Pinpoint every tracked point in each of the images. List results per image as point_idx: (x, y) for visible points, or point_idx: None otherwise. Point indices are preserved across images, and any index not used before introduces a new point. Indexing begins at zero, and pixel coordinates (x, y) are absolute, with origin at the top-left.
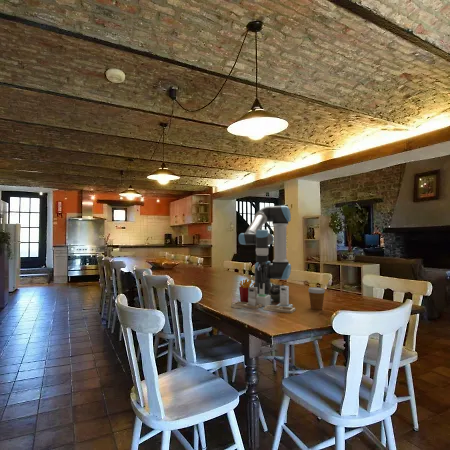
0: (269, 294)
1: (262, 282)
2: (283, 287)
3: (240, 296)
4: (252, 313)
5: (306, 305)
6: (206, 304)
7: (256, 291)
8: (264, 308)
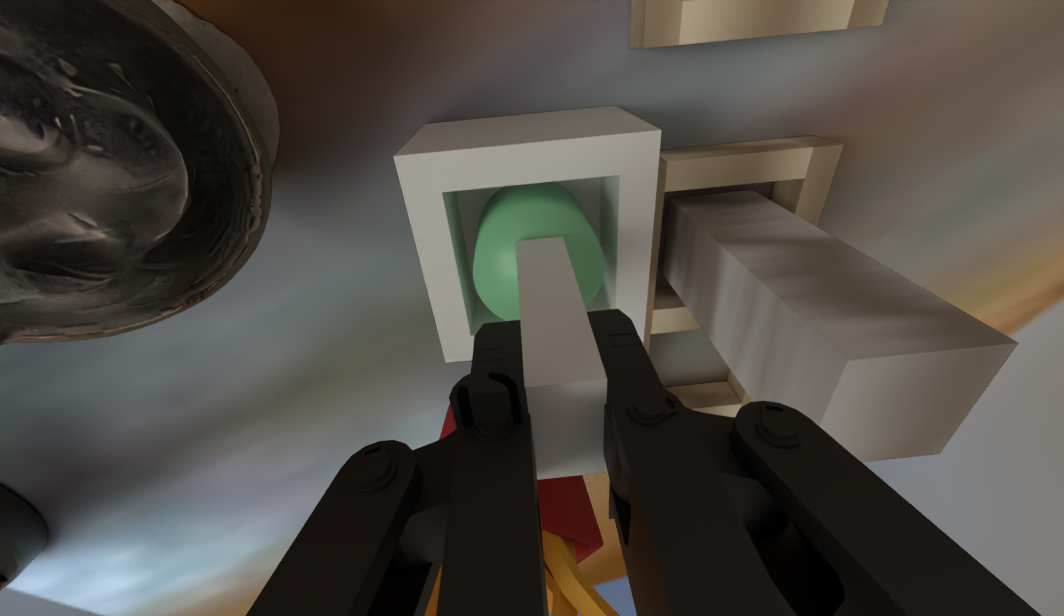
0: (252, 252)
1: (688, 418)
2: None
3: None
4: (992, 99)
5: None
6: None
7: (835, 302)
8: (877, 4)
